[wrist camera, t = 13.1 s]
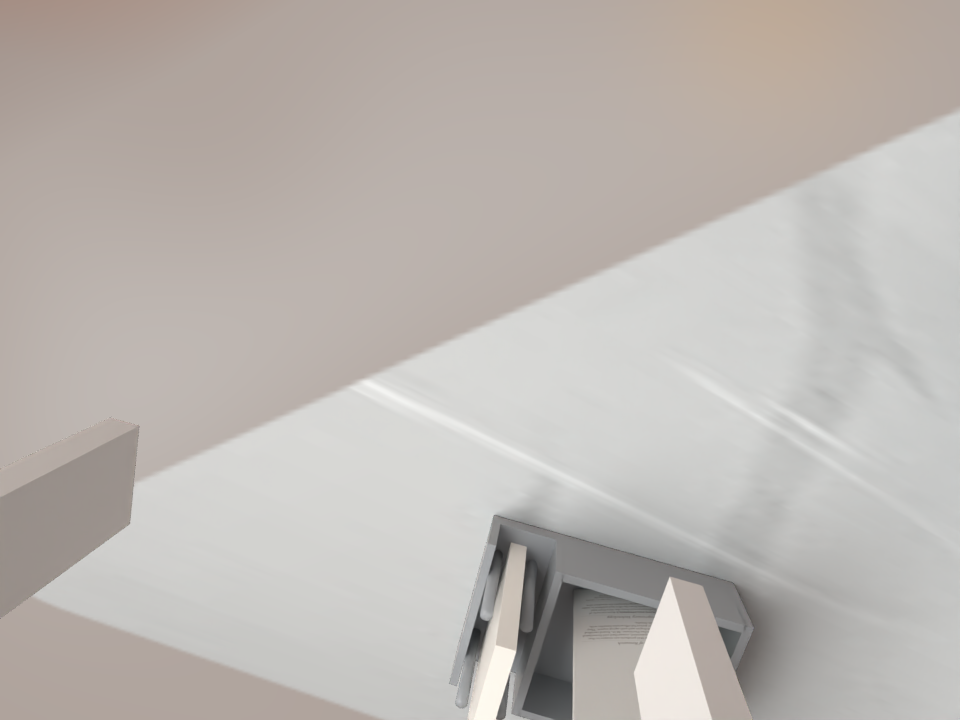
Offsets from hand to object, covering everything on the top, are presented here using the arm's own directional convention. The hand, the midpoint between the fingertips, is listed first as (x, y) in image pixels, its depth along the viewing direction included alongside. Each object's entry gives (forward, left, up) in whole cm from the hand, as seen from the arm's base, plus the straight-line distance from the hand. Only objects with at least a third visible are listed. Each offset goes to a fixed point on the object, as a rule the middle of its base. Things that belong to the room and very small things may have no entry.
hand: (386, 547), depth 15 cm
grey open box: (-12, +20, -29) cm, 37 cm away
